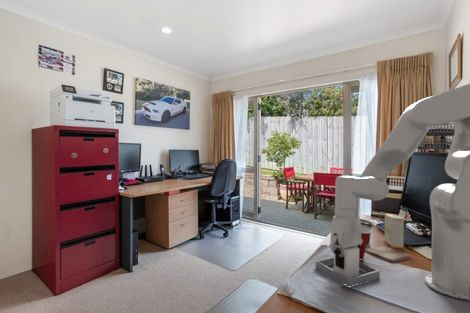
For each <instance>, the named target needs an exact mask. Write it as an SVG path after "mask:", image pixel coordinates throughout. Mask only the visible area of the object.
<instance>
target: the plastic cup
mask: <svg viewBox="0 0 470 313" xmlns="http://www.w3.org/2000/svg"><path fill="white" fill-rule="evenodd" d="M370 233H372V229H371V230H370V229H368V228H365V227H361V238H362V240H363V243H362V244H361V245H360V248H359V259H363V260H364V258H365V253H366V249H367V246H368V245H367V241H368V238H369V235H370ZM370 236H371V235H370Z"/></svg>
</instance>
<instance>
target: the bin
mask: <svg viewBox="0 0 470 313" xmlns="http://www.w3.org/2000/svg"><path fill="white" fill-rule="evenodd" d="M329 266H334V256H331V257H328V258H323V259H319V260H315V269H316V270H318V271H320V272H321V273H323V274H325V275H327V276H329V277H330V278H331V279H333V280H335V281H336V282H339V283H340V284H342V285H343V284H346V285H347V286H352V285H356V284H360V283H364V282H367V281H370V282H372V281H371V280H373V281H375V280H374V279H376V280H378V278H379V279H381V278H380V277H381V275H380V274H381V273H380V272H381V271H380V270H379V269H378V268H377V269H376V268H375V267H372V266H370V265H368V264H366V263H363V262H362V261H359V268H360V269H362V270H364V271H366V272H367V273H366V272H365V273H364V274H361V275H360V274H359V275H358V276H354V277H351V278H347V277H345V276H344V275H342V274H340V273H338V272H336V271H334V268H331V267H329ZM360 269H359V270H360ZM362 270H361V271H362ZM364 271H363V272H364ZM367 283H368V282H367ZM364 284H365V283H364ZM360 285H361V284H360ZM347 286H346V287H347Z"/></svg>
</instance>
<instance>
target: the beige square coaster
mask: <svg viewBox="0 0 470 313" xmlns="http://www.w3.org/2000/svg"><path fill="white" fill-rule="evenodd" d="M365 253H367V254H369V255H372V256H374V257H376V258H379V259H382V260H384V261H387V262H390V263H393V264H394V263H397V262H401V261H404V260H407V259H410V258H411V255H410V254H407V253H405V252H401V251H398V250H396V249H393V248H392V247H391V248H389V247H387V246H385V245H379V246H376V247H372V248H371V247H370V248H368V249H367V248H366V250H365Z"/></svg>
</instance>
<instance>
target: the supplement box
mask: <svg viewBox="0 0 470 313" xmlns="http://www.w3.org/2000/svg"><path fill="white" fill-rule="evenodd" d="M404 224H405V220H404V218H403V217H401V216H399V215H397V214H393V213H385V214H384V242H385V243H387V245H389V246H390V247H391V248H392V249H393V248H395V249H404V231H405V230H404V226H405V225H404Z"/></svg>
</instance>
